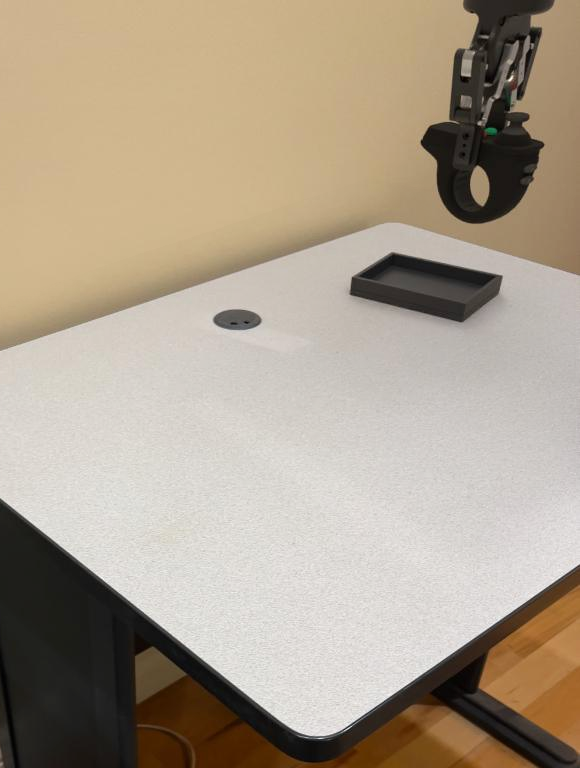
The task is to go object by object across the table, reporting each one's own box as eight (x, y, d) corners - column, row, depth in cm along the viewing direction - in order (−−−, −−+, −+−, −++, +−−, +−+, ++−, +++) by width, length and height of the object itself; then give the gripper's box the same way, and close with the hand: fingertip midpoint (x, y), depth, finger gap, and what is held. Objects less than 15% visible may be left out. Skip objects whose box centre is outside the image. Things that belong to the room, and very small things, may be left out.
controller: (501, 240, 85) (528, 123, 78) (404, 208, 93) (420, 100, 86) (531, 230, 86) (559, 115, 80) (433, 199, 94) (451, 93, 88)
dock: (499, 293, 119) (503, 275, 118) (462, 322, 113) (465, 303, 112) (389, 268, 128) (391, 251, 126) (349, 294, 122) (351, 276, 120)
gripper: (530, -45, 69) (483, 187, 80) (595, -65, 77) (543, 149, 88) (439, -48, 73) (406, 174, 84) (509, -66, 81) (470, 139, 92)
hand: (476, 160), depth 86 cm, fingers closed on controller, 5 cm apart
